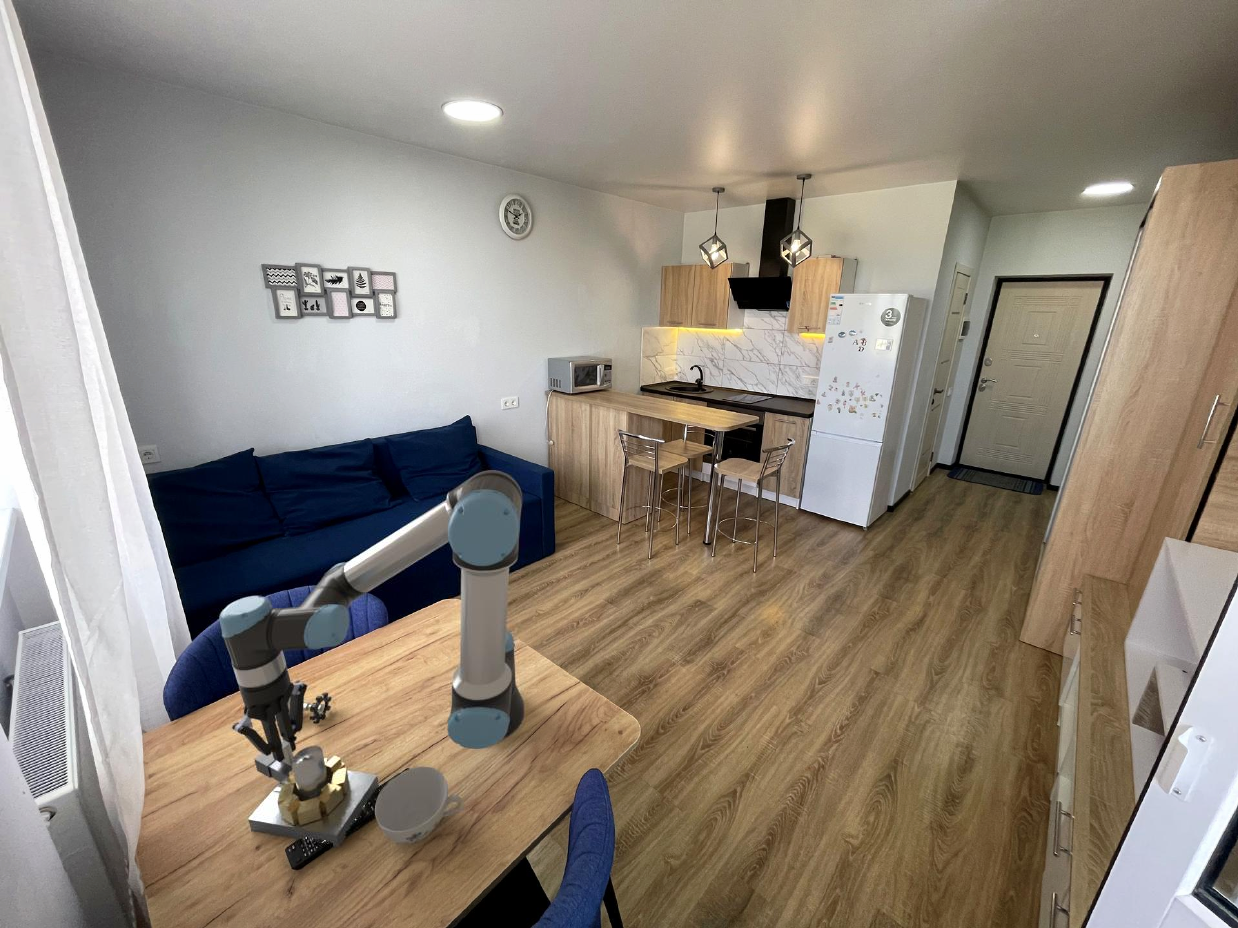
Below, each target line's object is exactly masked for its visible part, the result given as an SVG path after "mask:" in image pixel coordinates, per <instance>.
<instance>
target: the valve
mask: <svg viewBox="0 0 1238 928" xmlns="http://www.w3.org/2000/svg"><path fill="white" fill-rule="evenodd" d="M315 701H316V702H313V703H311V702H309V701H308V702H307V701H304V707H303V712H308V711H309V712H310V713H313V714H312V715H311V714H310V715H309V721H313V722H312V723H313V725H314V724H315V725H319V724H320V722H321V721H324V720H326V718H327V714H326V713H327V712H329V711H330V710H331V708H332V706H331V705H330V704H329V703H330V702H331V701H332V696H329V693H328V692H322V694H321V696H320V695H316V697H315ZM322 702H324V703H322ZM288 708H289V712H288V713H289V715H290V699H289V701H288Z"/></svg>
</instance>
